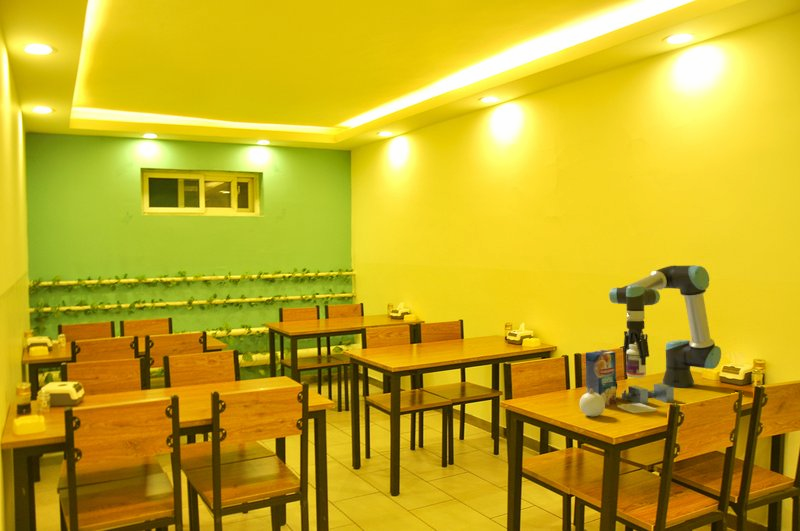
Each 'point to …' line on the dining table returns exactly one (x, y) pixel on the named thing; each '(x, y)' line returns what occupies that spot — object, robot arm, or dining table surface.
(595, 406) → the ornament
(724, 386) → the dining table surface
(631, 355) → the pill bottle
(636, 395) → the vise
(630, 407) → the trivet
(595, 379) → the cereal box
